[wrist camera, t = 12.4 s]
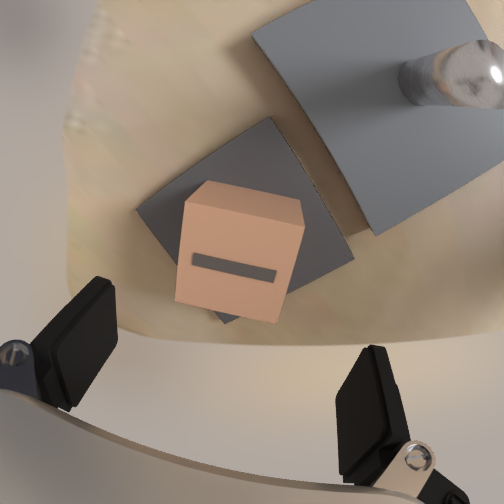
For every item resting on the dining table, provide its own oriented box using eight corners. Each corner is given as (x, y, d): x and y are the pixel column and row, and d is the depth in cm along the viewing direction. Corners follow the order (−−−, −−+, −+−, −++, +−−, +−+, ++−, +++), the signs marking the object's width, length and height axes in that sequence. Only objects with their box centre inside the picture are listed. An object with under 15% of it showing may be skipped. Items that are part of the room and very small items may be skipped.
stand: (517, 140, 17) (529, 144, 16) (370, 228, 21) (375, 236, 20) (428, -34, 12) (436, -41, 11) (252, 39, 17) (250, 33, 15)
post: (446, 95, 15) (525, 97, 8) (412, 112, 16) (484, 119, 9) (425, 53, 15) (497, 32, 7) (389, 70, 15) (452, 50, 8)
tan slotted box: (299, 200, 20) (305, 227, 15) (278, 280, 23) (276, 325, 18) (207, 180, 20) (184, 202, 15) (195, 262, 23) (174, 301, 18)
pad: (351, 252, 22) (354, 258, 21) (226, 316, 25) (224, 324, 25) (269, 116, 19) (269, 116, 18) (141, 205, 22) (135, 209, 21)
